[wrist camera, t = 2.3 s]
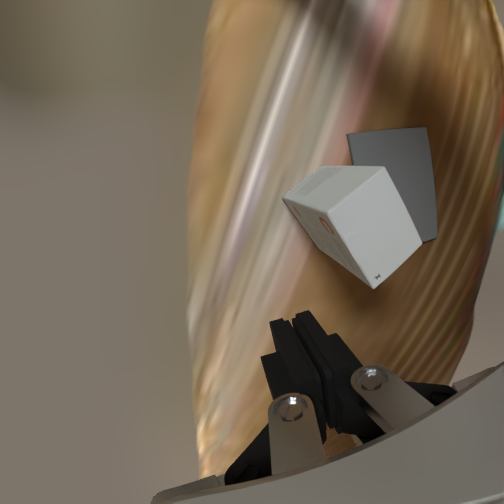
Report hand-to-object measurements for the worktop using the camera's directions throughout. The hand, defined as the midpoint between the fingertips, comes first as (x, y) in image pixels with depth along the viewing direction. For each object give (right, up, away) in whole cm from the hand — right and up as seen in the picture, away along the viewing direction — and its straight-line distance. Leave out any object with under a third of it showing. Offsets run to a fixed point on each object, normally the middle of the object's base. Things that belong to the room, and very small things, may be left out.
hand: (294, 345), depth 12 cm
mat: (+17, +12, +23) cm, 31 cm away
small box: (+6, +9, +22) cm, 25 cm away
